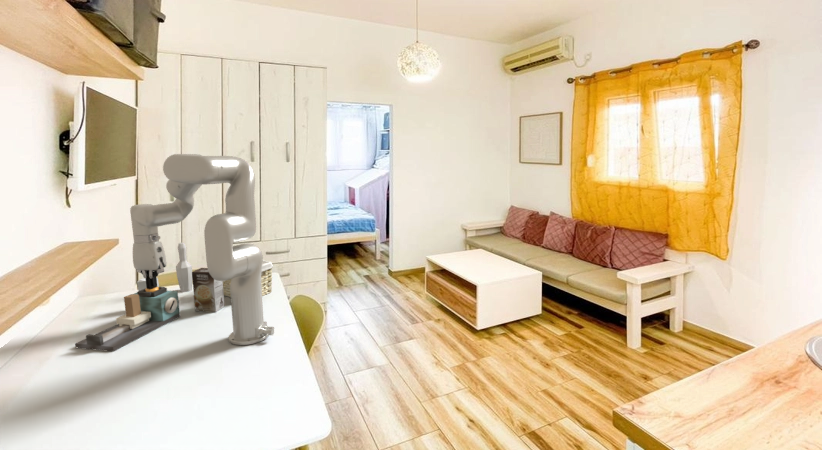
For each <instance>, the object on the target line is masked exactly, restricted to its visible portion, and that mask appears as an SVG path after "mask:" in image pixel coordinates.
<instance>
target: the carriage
mask: <svg viewBox="0 0 822 450" xmlns="http://www.w3.org/2000/svg"><path fill="white" fill-rule="evenodd" d="M123 300H124V302H123V303H124V308H125V314H123V315H121V316H119V317H115V319H116V320H115V321H116V325H117V324H119V325H120V326H122V325H130V329H134V328H136V327H138V326H140V325H142V324H144V323H146V322H148V321H149V318H151V312H144V311H141V309H140V300H139V295H137V294H134V293H132V294H129V295H126V296H124V297H123Z"/></svg>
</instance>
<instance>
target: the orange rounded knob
mask: <svg viewBox="0 0 822 450" xmlns="http://www.w3.org/2000/svg"><path fill="white" fill-rule="evenodd" d="M145 290H146V292H154V291H156V290H159V288H158V287H155V288H153V289H147V288H146V289H145Z"/></svg>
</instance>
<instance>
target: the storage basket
mask: <svg viewBox="0 0 822 450" xmlns="http://www.w3.org/2000/svg"><path fill="white" fill-rule="evenodd" d="M273 268H274V265H273V263H272V261H269V260H266V259H263V264H262V272H261V287H262V297H264V296H265V295H269V294H271V293H272V291H273V289H272V288H273V281H272V280H273ZM231 280H232V279H230V280H226V281H223V294H224V297H228V298H231V296H230V284H231Z"/></svg>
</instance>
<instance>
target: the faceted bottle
mask: <svg viewBox="0 0 822 450" xmlns="http://www.w3.org/2000/svg"><path fill="white" fill-rule="evenodd" d="M177 244H178V245H177V251H178V257H179V261H178V263H177V265H176V266H175V272H176V278H177V281H178V286H179V290H180V293H186V292H191V291H193V279H192V272H193V266H192V264H191V263H190V262H189V261H188V258H187V257H188V256H187V245H186V243H185V242H179V243H177Z"/></svg>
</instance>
